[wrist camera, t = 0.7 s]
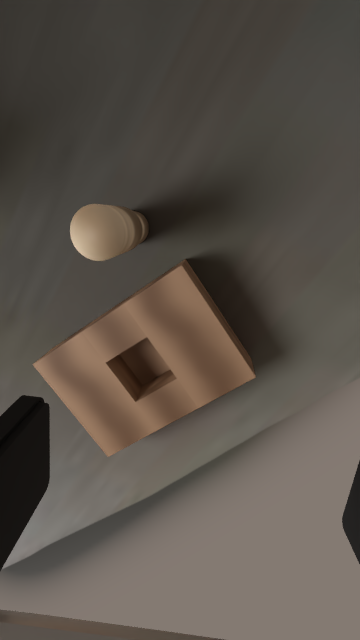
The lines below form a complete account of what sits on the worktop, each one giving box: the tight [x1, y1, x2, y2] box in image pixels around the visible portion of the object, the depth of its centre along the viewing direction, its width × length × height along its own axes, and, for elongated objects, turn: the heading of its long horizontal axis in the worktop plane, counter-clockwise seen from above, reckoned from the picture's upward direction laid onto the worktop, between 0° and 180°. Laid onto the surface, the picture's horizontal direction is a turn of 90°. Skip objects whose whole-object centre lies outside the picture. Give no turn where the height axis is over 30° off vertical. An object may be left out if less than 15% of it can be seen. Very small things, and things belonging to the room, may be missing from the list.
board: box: [33, 259, 256, 457], centre depth 39 cm, size 20×14×5 cm
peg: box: [70, 204, 149, 261], centre depth 32 cm, size 4×4×12 cm
